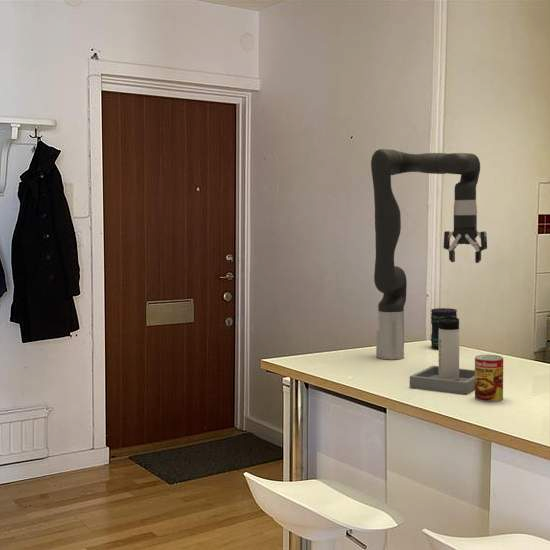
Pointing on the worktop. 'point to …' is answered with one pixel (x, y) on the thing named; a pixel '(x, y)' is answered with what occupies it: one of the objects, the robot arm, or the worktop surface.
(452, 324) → the travel mug
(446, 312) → the storage jar
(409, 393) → the worktop surface
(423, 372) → the grey tray
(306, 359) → the worktop surface
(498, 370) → the canned food
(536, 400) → the worktop surface
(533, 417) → the worktop surface
